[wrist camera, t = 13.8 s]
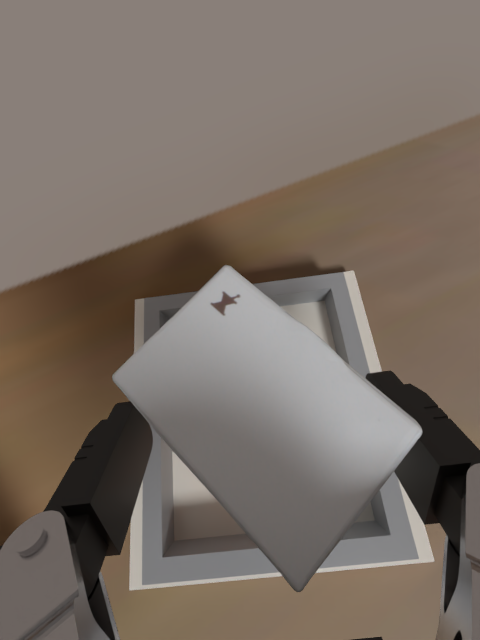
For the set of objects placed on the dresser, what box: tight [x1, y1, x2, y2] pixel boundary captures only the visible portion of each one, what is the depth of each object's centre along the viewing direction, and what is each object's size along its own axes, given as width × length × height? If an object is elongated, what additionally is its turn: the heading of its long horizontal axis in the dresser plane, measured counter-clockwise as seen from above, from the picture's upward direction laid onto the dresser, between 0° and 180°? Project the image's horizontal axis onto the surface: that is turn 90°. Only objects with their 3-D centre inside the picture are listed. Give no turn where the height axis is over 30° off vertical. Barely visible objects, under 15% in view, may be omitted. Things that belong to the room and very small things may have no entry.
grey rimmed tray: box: [129, 271, 435, 590], centre depth 17 cm, size 16×17×3 cm
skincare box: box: [112, 265, 422, 592], centre depth 12 cm, size 6×4×12 cm
